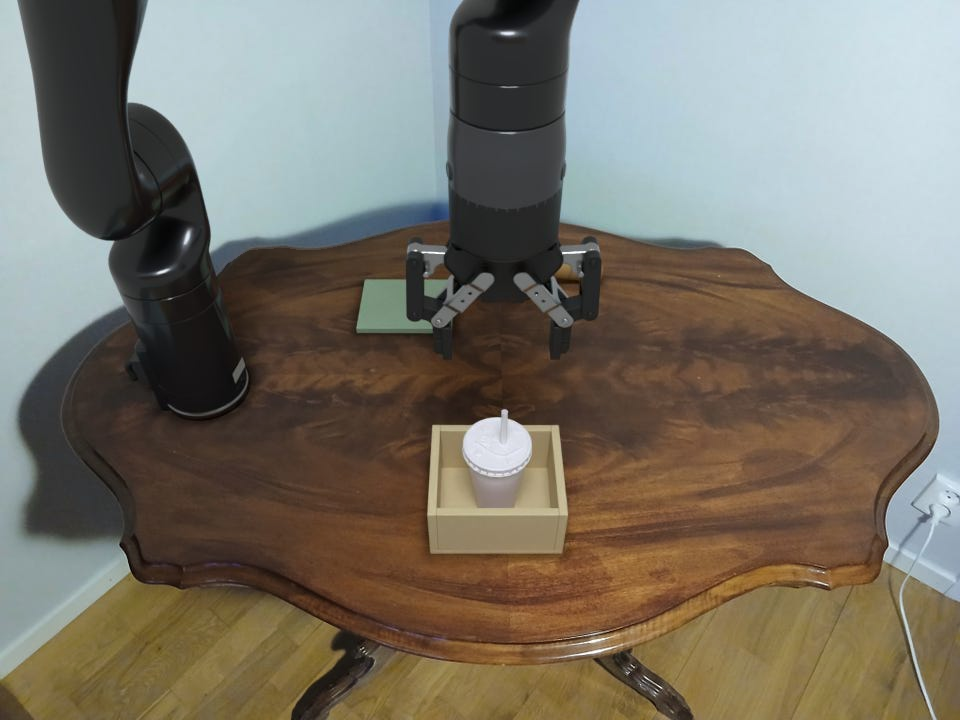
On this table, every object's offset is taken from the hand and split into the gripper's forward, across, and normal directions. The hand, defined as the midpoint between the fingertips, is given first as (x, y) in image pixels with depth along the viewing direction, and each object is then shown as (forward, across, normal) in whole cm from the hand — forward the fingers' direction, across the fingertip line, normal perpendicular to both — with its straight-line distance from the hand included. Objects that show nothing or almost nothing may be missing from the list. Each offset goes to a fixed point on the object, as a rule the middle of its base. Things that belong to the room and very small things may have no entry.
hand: (500, 353), depth 58 cm
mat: (+21, +11, -31) cm, 39 cm away
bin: (+21, 0, 0) cm, 21 cm away
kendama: (+22, -6, -36) cm, 42 cm away
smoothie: (+21, 0, 0) cm, 21 cm away
